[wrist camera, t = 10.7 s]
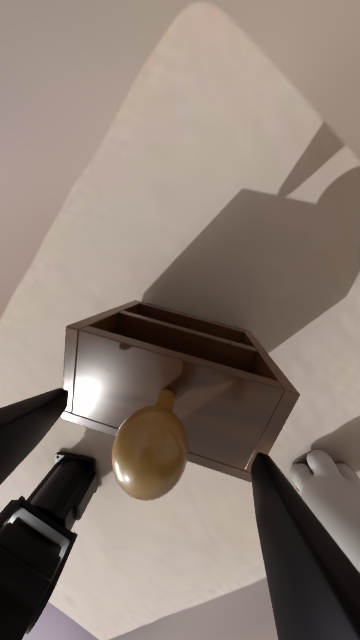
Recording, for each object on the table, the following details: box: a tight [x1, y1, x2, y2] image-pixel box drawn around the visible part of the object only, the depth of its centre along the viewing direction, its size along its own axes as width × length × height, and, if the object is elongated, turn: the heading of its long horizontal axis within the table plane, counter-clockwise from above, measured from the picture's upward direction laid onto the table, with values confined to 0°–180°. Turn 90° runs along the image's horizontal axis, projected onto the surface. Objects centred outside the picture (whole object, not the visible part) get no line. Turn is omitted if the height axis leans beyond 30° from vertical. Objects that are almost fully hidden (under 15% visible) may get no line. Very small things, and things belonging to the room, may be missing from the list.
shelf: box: [61, 300, 300, 501], centre depth 13 cm, size 14×13×7 cm
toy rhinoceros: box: [290, 450, 360, 572], centre depth 18 cm, size 7×12×8 cm, turn 146°
